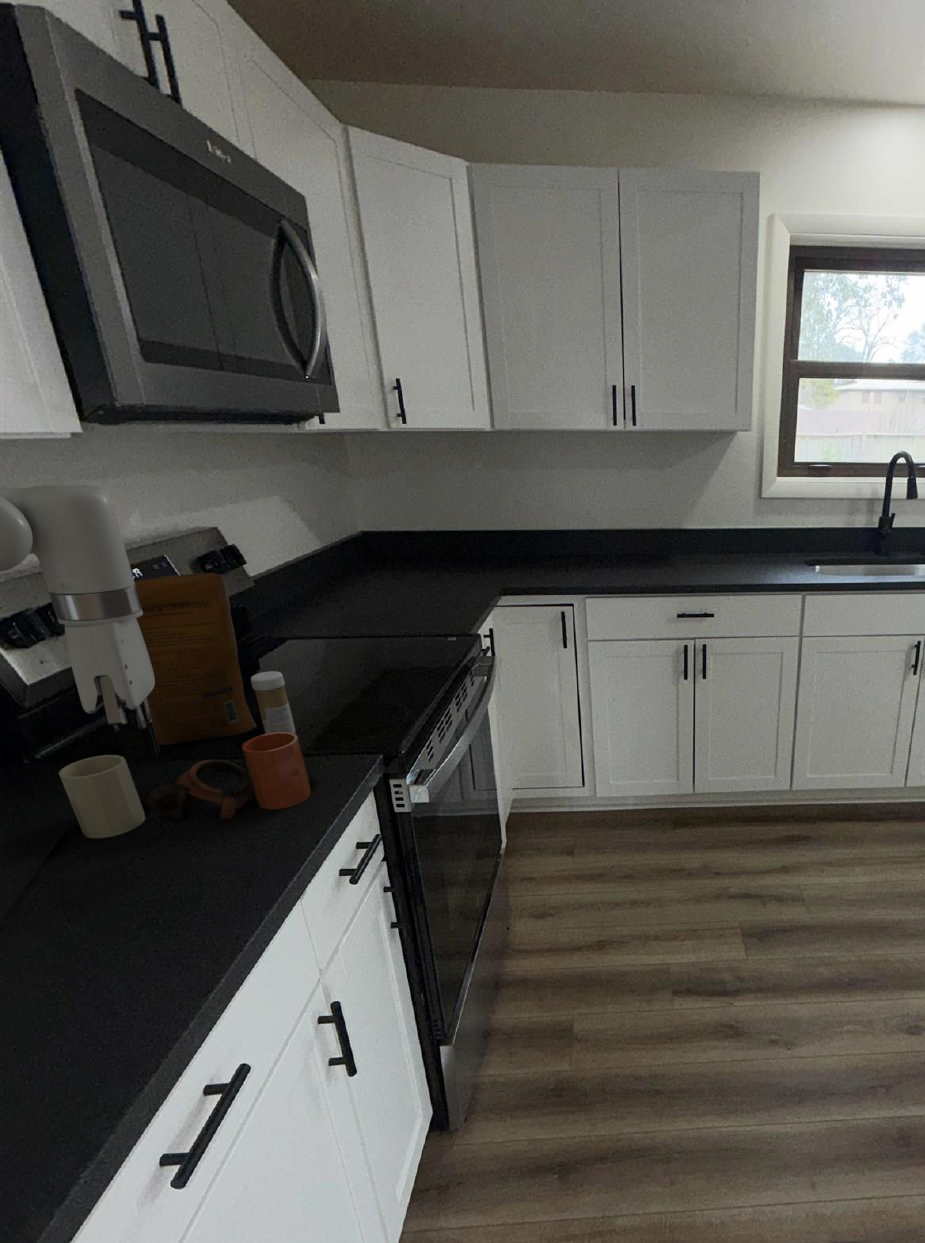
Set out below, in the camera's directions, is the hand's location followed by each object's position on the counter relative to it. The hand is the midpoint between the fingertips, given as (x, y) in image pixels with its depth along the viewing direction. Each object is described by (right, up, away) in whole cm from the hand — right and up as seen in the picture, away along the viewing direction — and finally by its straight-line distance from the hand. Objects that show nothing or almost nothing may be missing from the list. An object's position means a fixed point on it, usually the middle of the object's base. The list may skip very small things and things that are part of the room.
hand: (143, 757), depth 87 cm
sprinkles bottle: (-2, 0, +35) cm, 35 cm away
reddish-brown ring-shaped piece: (-3, -8, +16) cm, 18 cm away
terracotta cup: (+6, -6, +20) cm, 22 cm away
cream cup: (-14, -10, +13) cm, 21 cm away
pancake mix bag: (-19, +3, +40) cm, 45 cm away
